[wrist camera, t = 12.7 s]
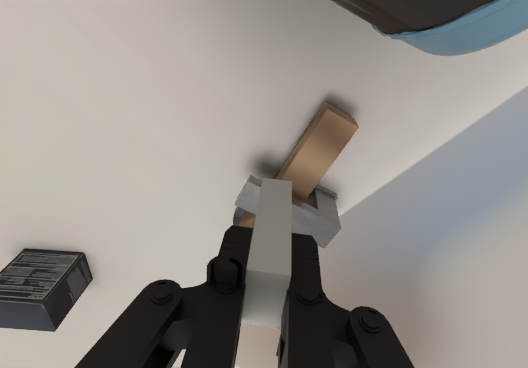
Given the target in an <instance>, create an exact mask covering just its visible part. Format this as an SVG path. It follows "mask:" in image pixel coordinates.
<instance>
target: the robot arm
mask: <svg viewBox="0 0 528 368" xmlns="http://www.w3.org/2000/svg"><path fill="white" fill-rule="evenodd" d="M331 1H332V2H334V3H336V4H338V5H339V6H341V7H343V8H344V9H346V10H348V11H350V12H351V13H353V14H355V15H357V16H358V17H360V18H362V19H363V20H365V21H367V22H369V23H370V24H372V26H373V28H374V29H375V30H376V31H377V32H379V33H380V34H382V35H384V36H389V37H390V38H392V39H400V40H402V41H404V42H406V43H408V44H410V45H412V46H414V47H416V48H418V49H420V50H422V51H424V52H426V53H430V54H434V55H441V56H454V55H462V54H467V53H471V52H475V51H478V50H482V49H485V48H487V47H490V46H493V45H495V44H497V43H500V42H502V41H504V40H506V39H508V38H510V37H512V36H514V35H516V34H518V33H520V32H522V31H524V30H525V29H527V28H528V0H331ZM291 229H292V181H285V180H278V179H270V178H263V179H262V184H261V190H260V196H259V201H258V207H257V212H256V218H255V224H254V228H249V227H241V226H234V225H232V226H231V227H230V228H229V229H228V230H227V231H226V232H225V234H224V238H223V242H222V244H221V248H220V251H219V254H218V256H217V257H215V258H213V259H212V260H210V262H209V263H208V265H207V281H206V282H205V283H203V284H201V285H199V286H195V287H189V288H181V287H180V285H179V284H178V283H176V282H174V281H172V280H166V279H165V280H157V281H155V282H152V283H150V284H149V285H148V286H146V287H145V288H144V289H143V290H142V291H141V293H140V294H139V295H138V296H137V297H136V298H135V299H134V300H133V302H132V303H131V304H130V305H129V306H128V307H127V308H126V310H125V311H124V312H123V313H122V314H121V315H120V316H119V318H118V319H117V320H116V321H115V322H114V323H113V324H112V325H111V327H110V328H109V329H108V330H107V331H106V332H105V333H104V335H103V336H102V337H101V338H100V339H99V340H98V341H97V343H96V344H95V345H94V346H93V347H92V348H91V349H90V351H89V352H88V353H87V354H86V355H85V356H84V357H83V358H82V360H81V361H80V362H79V363H78V364H77V365H76V366H75V368H171V367H172V366H173V364H174V362H175V361H176V359H177V357H178V356H179V354H180V352H181V350H182V349H186V352H185V355H184V358H183V361H182V364H181V368H234V366H235V360H236V354H237V347H238V341H239V334H240V326H241V323H243V324H250V325H257V326H264V327H271V328H278V329H280V327H281V335H280V340H279V344H278V349H277V354H276V355H277V356H278V368H414V366H413V364H412V362H411V361H410V359H409V357H408V356H407V354H406V352H405V350H404V348H403V347H402V345H401V343H400V341H399V340H398V338H397V336H396V334H395V332H394V331H393V329H392V327H391V325H390V323H389V322H388V320H387V319H386V318H385V317H384V315H382V314H381V313H380V312H378V311H377V310H375V309H373V308H370V307H364V306H360V307H357V308H354V309H353V310H352V311H351V312H350V311H348V310H346V309H343V308H341V307H339V306H337V305H335V304H333V303H332V302H331V301H330V300H328V298H327V297H326V295H325V293H324V292H323V290H322V285H321V276H320V265H319V257H318V256H319V255H318V245H317V242H316V241H315V239H314V238H313V236H312V235H305V234H298V233H291Z"/></svg>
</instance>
